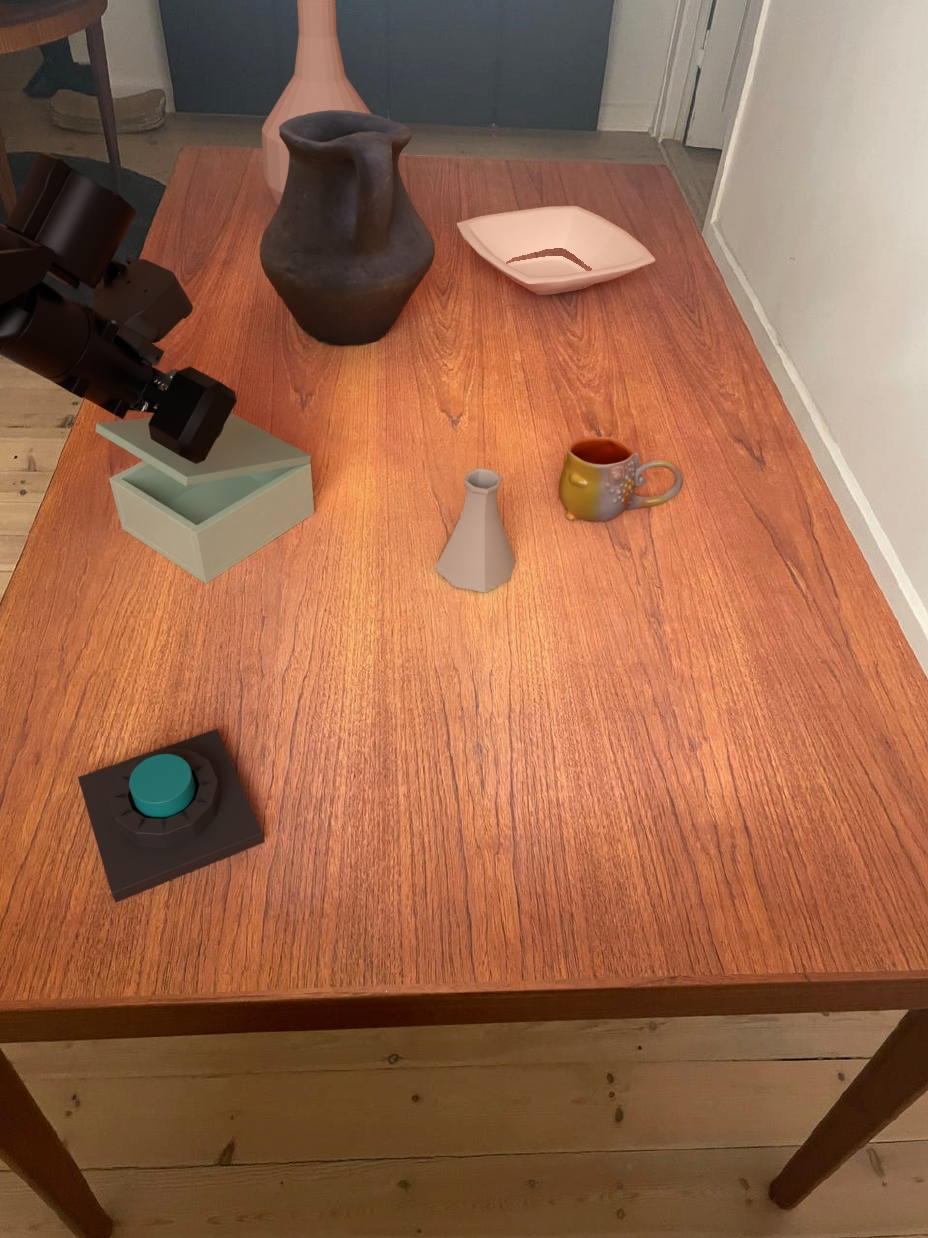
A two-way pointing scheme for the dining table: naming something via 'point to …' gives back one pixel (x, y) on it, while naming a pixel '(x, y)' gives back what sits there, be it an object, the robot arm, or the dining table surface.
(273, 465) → the lid
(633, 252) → the bowl
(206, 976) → the dining table surface
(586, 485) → the mug
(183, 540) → the gray-green storage box
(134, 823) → the panel
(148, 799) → the button
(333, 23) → the vase
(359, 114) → the pitcher
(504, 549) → the flask
